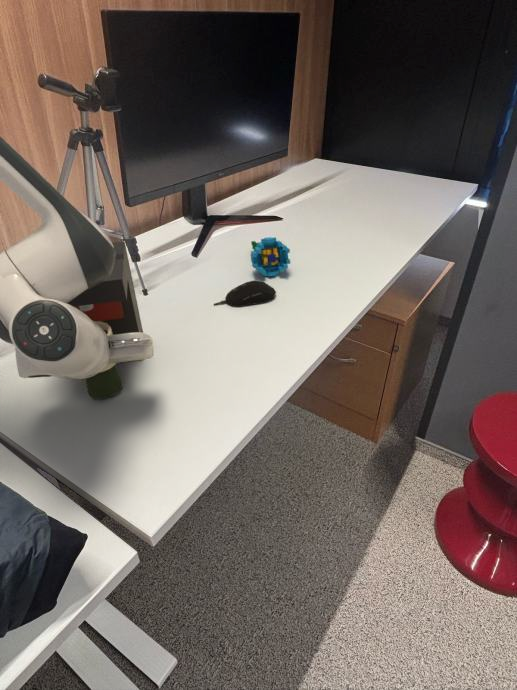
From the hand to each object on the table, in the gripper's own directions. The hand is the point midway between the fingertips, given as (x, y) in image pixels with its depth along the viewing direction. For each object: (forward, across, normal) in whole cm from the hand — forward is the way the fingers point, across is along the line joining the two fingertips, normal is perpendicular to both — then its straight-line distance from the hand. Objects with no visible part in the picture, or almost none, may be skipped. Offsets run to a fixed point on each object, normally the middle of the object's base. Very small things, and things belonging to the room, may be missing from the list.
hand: (97, 358), depth 84 cm
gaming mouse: (+22, -30, -12) cm, 39 cm away
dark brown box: (+10, 0, 0) cm, 10 cm away
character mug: (+5, 0, +5) cm, 7 cm away
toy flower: (+34, -38, -24) cm, 56 cm away
